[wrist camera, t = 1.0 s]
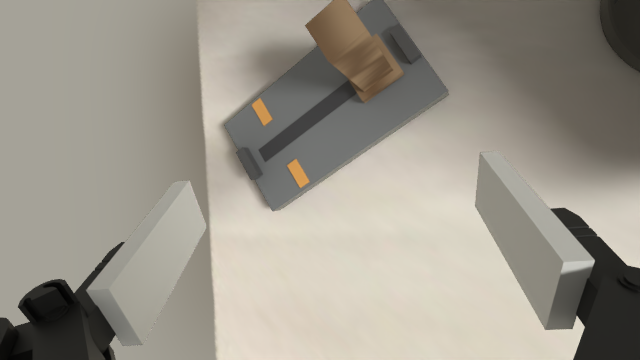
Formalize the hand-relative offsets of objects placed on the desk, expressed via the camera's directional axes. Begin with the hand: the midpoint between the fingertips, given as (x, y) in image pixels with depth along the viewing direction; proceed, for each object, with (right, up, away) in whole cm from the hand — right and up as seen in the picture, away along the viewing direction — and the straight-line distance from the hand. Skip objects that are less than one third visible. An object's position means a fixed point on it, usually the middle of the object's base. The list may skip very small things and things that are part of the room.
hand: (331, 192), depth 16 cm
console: (+1, +9, +26) cm, 28 cm away
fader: (+5, +12, +22) cm, 26 cm away
